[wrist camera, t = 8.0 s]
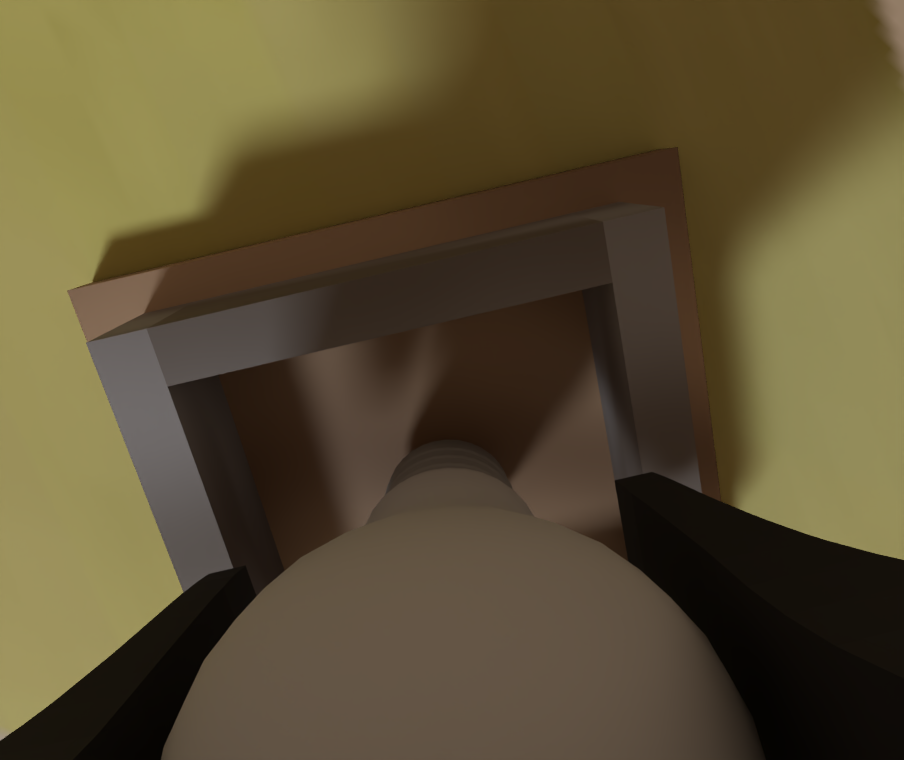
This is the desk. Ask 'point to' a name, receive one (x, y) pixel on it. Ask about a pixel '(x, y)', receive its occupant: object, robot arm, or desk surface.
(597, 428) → the socket base
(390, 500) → the lightbulb
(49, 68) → the desk surface
